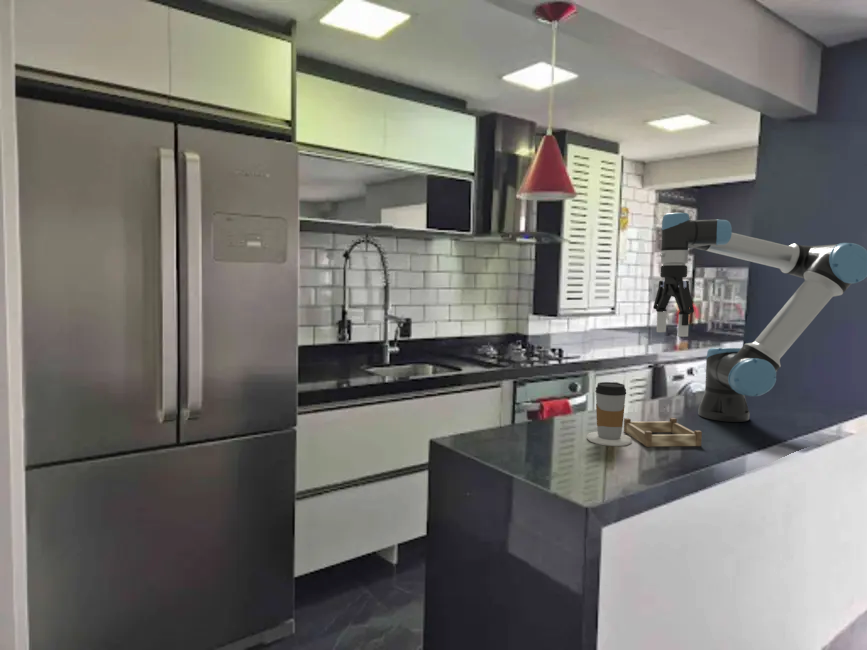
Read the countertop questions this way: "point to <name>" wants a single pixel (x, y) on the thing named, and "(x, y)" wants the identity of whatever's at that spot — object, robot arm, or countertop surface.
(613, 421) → the coffee cup
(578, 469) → the countertop surface
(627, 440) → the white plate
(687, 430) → the wooden frame
